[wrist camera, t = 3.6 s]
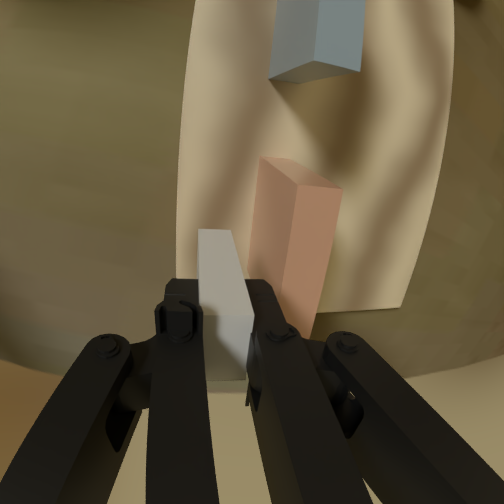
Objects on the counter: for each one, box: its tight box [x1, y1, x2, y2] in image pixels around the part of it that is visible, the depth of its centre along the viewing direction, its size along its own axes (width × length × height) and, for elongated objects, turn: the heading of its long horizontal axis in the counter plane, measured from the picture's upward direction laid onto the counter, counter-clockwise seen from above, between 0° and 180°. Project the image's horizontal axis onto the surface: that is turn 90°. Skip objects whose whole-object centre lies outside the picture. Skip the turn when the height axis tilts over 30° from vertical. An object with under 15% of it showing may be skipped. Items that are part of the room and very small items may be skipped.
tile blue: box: [268, 0, 365, 84], centre depth 12 cm, size 2×8×8 cm, turn 174°
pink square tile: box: [247, 156, 343, 339], centre depth 17 cm, size 2×8×8 cm, turn 174°
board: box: [176, 0, 454, 313], centre depth 19 cm, size 20×30×1 cm, turn 174°
